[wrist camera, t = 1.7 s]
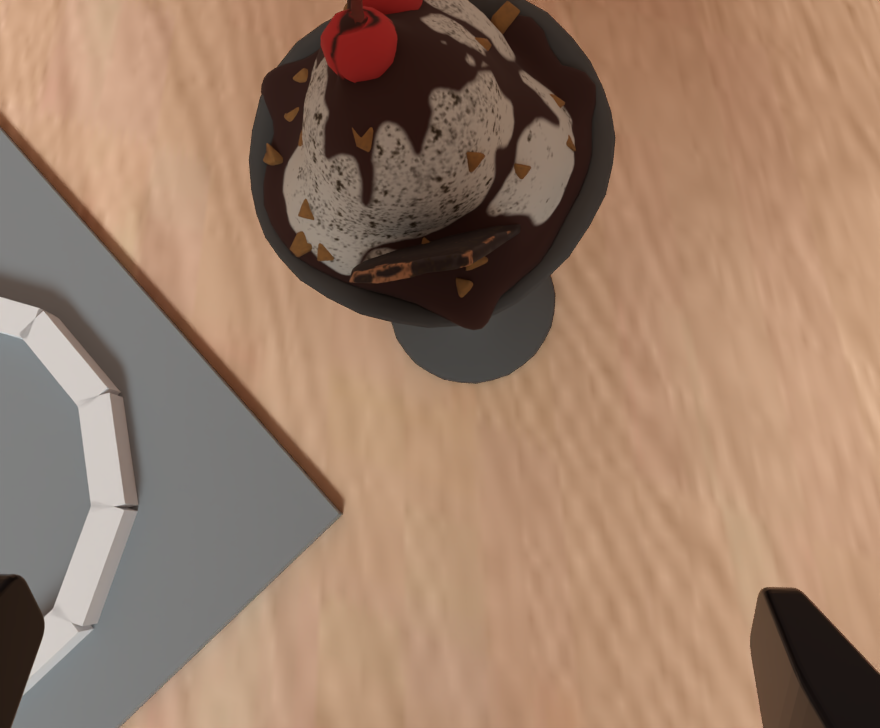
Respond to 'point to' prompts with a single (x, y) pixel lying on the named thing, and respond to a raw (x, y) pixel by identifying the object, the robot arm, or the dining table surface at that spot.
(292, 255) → the sundae
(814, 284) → the dining table surface
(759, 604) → the robot arm
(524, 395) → the dining table surface
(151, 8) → the dining table surface
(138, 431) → the ring mat
